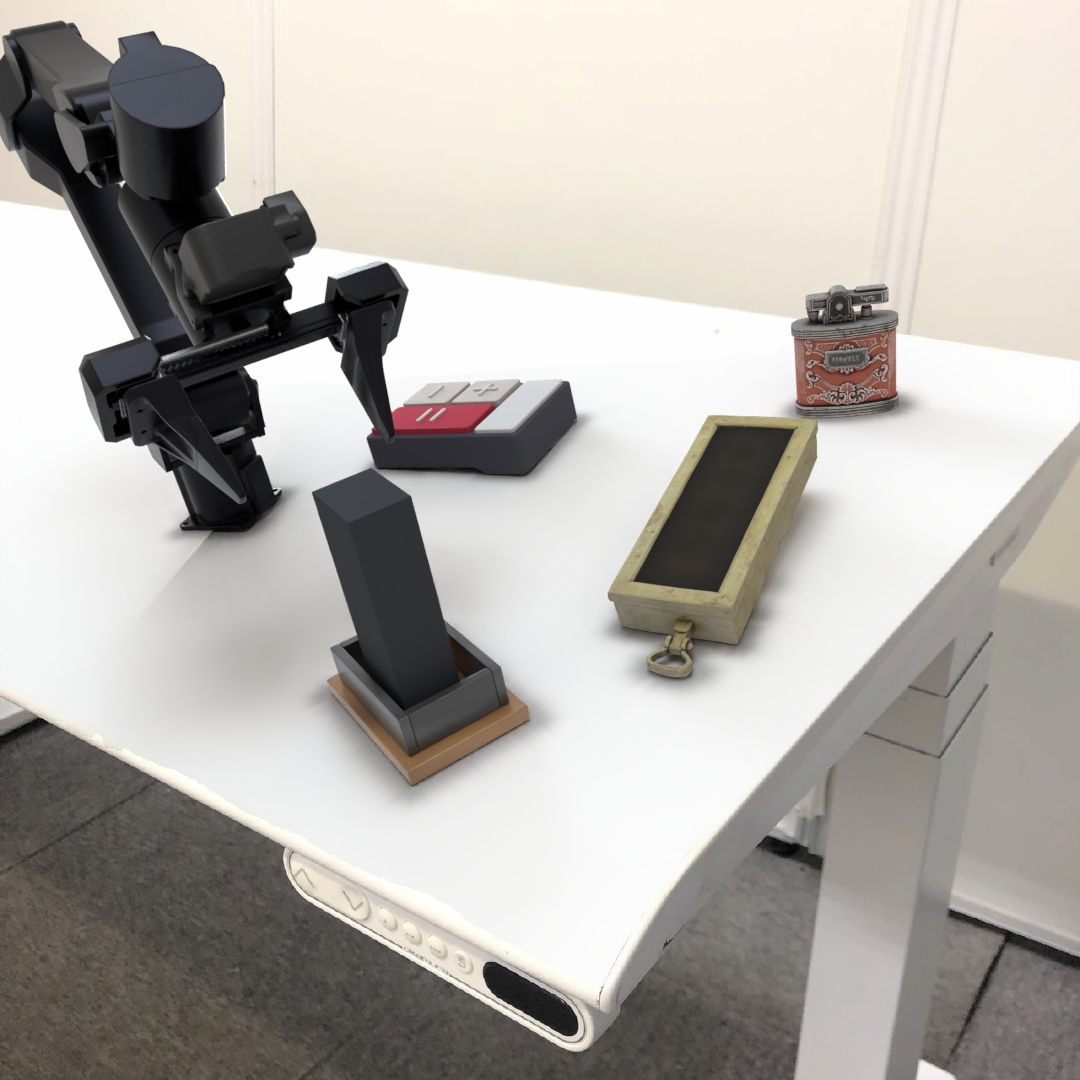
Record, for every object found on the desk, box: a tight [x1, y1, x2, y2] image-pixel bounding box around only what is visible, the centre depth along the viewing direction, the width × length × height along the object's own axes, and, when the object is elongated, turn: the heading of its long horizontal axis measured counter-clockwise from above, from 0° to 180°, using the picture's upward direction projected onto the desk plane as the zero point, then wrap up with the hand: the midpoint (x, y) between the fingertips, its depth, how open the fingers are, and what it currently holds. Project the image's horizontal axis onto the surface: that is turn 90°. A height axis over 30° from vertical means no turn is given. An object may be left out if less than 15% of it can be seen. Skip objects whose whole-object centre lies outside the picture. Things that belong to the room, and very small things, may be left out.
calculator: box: [366, 378, 578, 475], centre depth 90 cm, size 11×4×15 cm
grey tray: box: [326, 619, 531, 786], centre depth 59 cm, size 11×8×4 cm
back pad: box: [311, 467, 460, 712], centre depth 56 cm, size 5×4×13 cm
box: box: [607, 414, 819, 678], centre depth 65 cm, size 8×22×5 cm, turn 154°
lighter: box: [790, 283, 899, 419], centre depth 82 cm, size 8×3×10 cm, turn 80°
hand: (319, 468), depth 58 cm, fingers open, 9 cm apart
